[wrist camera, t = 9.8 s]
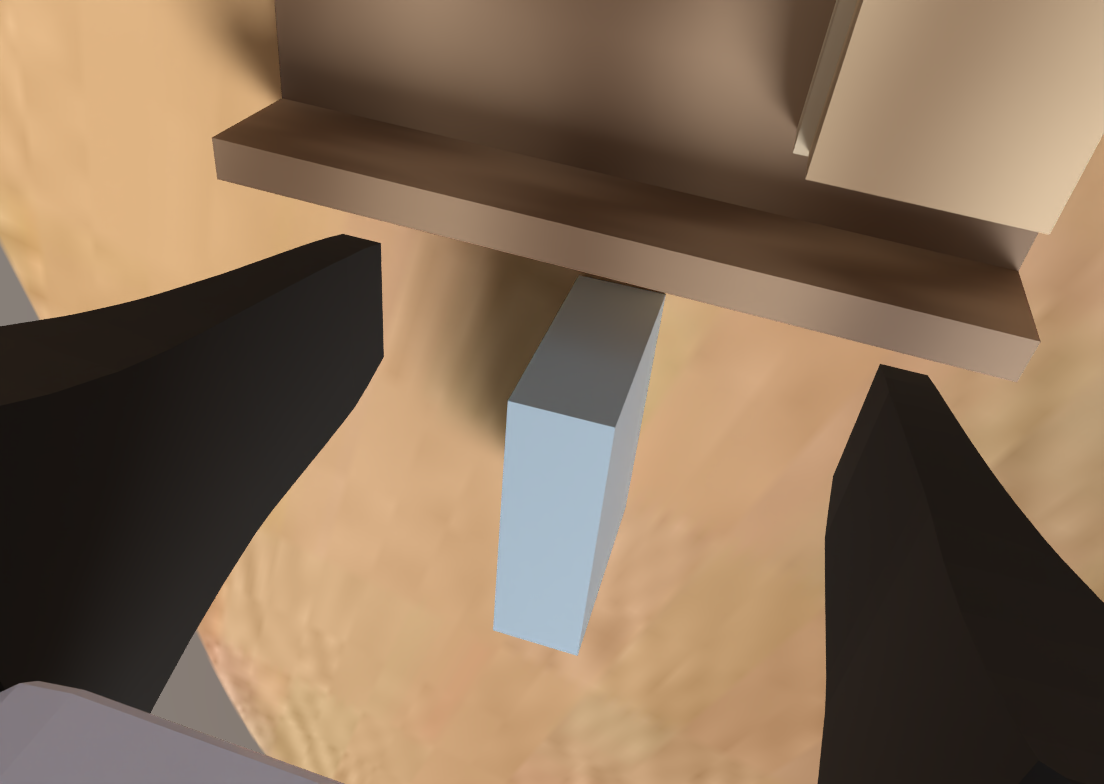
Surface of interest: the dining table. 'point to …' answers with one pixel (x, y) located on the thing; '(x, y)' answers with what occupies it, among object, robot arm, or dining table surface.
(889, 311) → the rack
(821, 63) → the offcut low
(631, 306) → the block
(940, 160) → the offcut top
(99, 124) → the dining table surface
